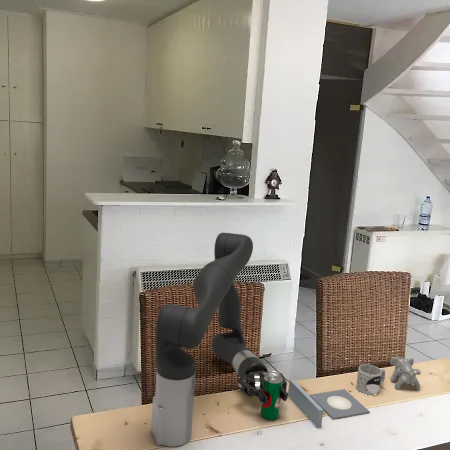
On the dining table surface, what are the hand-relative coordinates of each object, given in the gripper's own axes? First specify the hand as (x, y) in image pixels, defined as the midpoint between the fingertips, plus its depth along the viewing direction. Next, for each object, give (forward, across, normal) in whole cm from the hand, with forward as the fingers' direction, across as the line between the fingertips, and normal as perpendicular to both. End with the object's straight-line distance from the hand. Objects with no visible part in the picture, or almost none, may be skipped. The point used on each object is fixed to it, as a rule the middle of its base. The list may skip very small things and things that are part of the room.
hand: (276, 399), depth 130 cm
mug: (-8, +37, +7) cm, 38 cm away
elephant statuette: (-9, +49, +7) cm, 50 cm away
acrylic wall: (-3, +10, +6) cm, 13 cm away
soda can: (-3, 0, +7) cm, 7 cm away
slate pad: (-3, +22, +6) cm, 23 cm away
